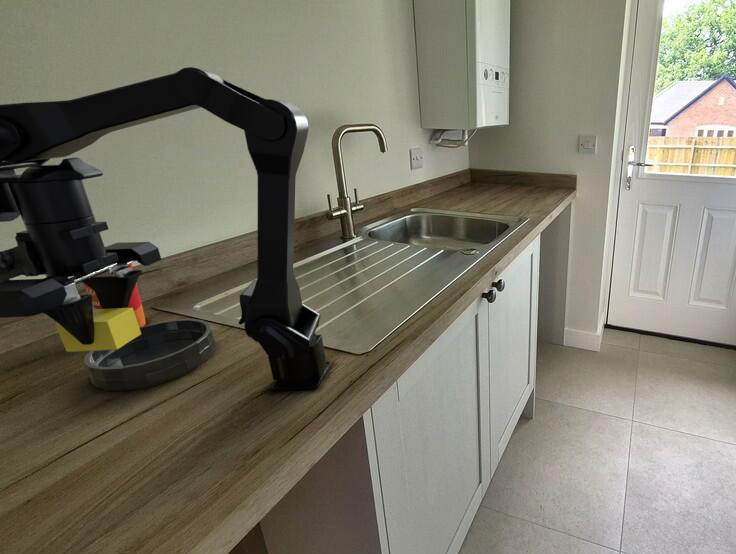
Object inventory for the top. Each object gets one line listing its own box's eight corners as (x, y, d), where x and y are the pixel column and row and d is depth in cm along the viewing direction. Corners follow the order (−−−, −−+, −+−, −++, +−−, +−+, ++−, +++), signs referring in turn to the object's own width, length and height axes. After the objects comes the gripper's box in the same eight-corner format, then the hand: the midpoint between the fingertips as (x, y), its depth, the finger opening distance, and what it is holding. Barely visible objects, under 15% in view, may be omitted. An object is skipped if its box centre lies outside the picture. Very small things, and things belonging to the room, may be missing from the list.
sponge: (141, 334, 56) (132, 307, 54) (117, 349, 52) (107, 321, 51) (94, 336, 55) (84, 309, 54) (66, 352, 51) (54, 323, 50)
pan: (234, 337, 73) (229, 317, 72) (175, 390, 59) (167, 366, 58) (145, 340, 72) (139, 320, 71) (63, 395, 58) (52, 371, 57)
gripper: (62, 204, 56) (99, 307, 61) (-126, 243, 39) (-53, 382, 44) (147, 202, 57) (177, 303, 62) (1, 240, 40) (59, 376, 45)
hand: (103, 335), depth 53 cm, fingers closed on sponge, 4 cm apart
